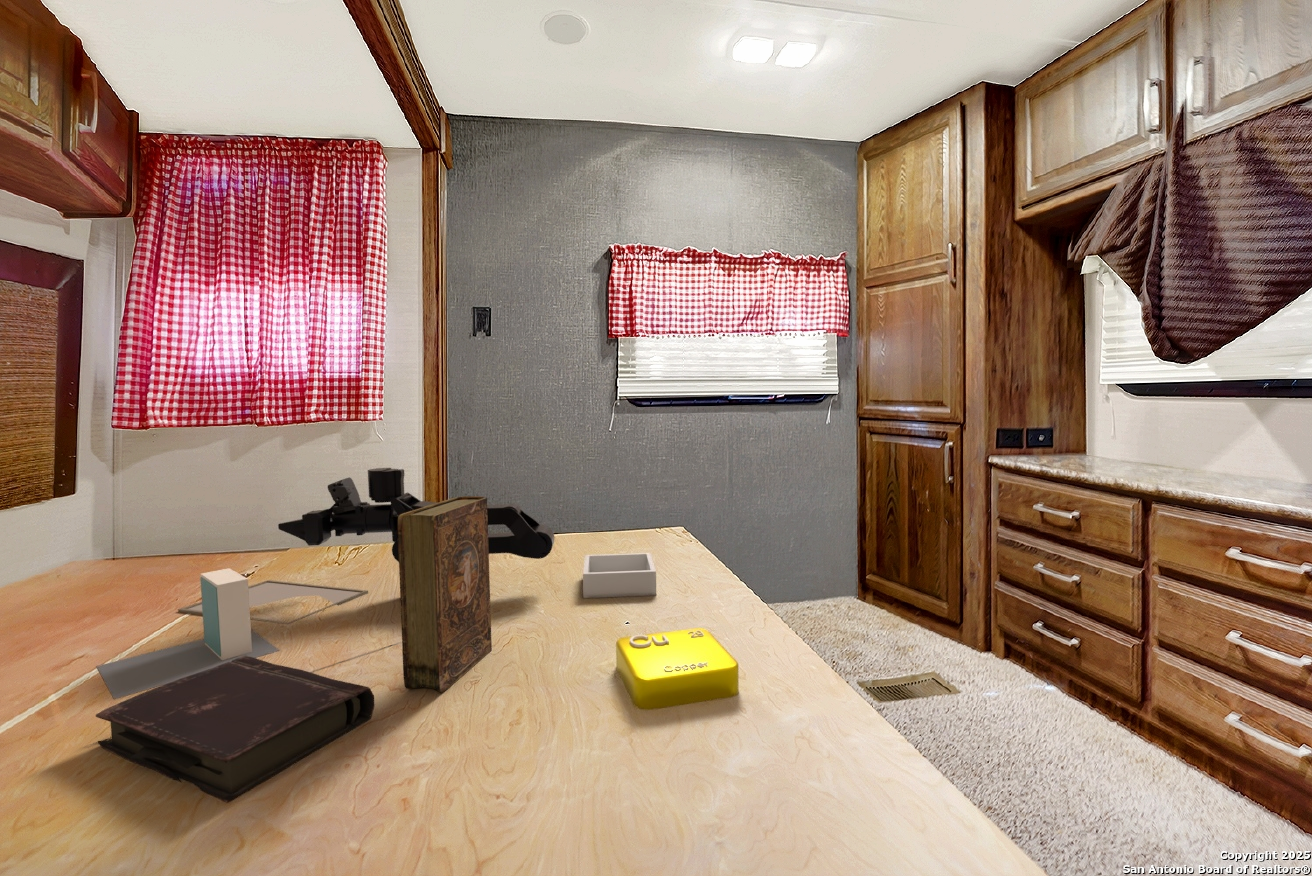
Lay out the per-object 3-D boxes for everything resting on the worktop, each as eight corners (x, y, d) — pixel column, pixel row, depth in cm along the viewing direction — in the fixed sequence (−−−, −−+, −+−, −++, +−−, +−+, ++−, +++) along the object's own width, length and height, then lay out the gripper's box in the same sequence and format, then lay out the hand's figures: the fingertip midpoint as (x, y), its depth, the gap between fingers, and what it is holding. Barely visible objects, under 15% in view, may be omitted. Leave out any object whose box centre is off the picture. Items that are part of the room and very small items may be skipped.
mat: (248, 629, 106) (248, 627, 106) (280, 652, 96) (279, 650, 96) (96, 668, 91) (96, 666, 91) (114, 702, 80) (114, 699, 80)
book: (465, 644, 98) (459, 495, 96) (495, 647, 97) (490, 496, 95) (404, 693, 82) (396, 515, 80) (439, 696, 81) (432, 516, 79)
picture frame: (178, 614, 115) (288, 629, 107) (177, 609, 115) (287, 624, 107) (268, 584, 134) (368, 595, 125) (268, 580, 134) (368, 590, 125)
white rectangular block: (233, 636, 102) (229, 568, 101) (252, 651, 95) (247, 579, 94) (203, 644, 98) (199, 573, 98) (221, 660, 92) (216, 585, 91)
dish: (650, 574, 136) (650, 552, 136) (656, 595, 121) (656, 571, 121) (585, 576, 135) (585, 555, 135) (583, 598, 120) (582, 574, 120)
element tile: (636, 714, 76) (636, 678, 76) (613, 664, 90) (613, 634, 90) (743, 697, 80) (743, 663, 80) (705, 652, 94) (705, 623, 94)
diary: (252, 684, 86) (251, 650, 86) (376, 719, 76) (374, 681, 76) (89, 754, 69) (86, 713, 69) (219, 812, 59) (216, 764, 59)
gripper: (385, 474, 130) (311, 476, 128) (349, 486, 111) (262, 489, 110) (387, 524, 130) (314, 527, 129) (352, 544, 112) (265, 548, 110)
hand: (291, 521), depth 119 cm, fingers open, 9 cm apart
